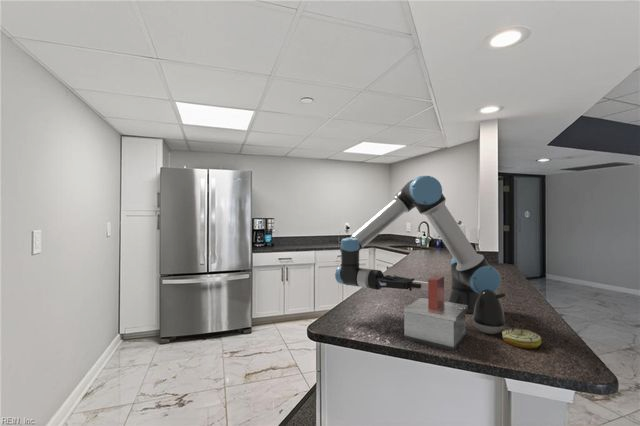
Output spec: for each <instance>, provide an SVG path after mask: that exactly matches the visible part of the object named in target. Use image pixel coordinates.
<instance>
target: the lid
mask: <svg viewBox="0 0 640 426" xmlns="http://www.w3.org/2000/svg"><path fill="white" fill-rule="evenodd" d="M427 280H428V281H427V282H428V291H427V295H428V298H425V297H420V298H418V299H417V300H415V301H413V302H412V303H410V304H408V305H407V306H405V307H403V313H404V312H409V313H414V314H419V315H425V316H430V317H435V318H440V319H445V320H451V321H457V320H458V319H459V318H460V317H461V315H462V314H463V313H464V312H465V311H466V310H467V309H468V305H464V304H457V303H451V302H448V301H445V276H443V275H434V276H432V277H429V278H428V279H427Z"/></svg>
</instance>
